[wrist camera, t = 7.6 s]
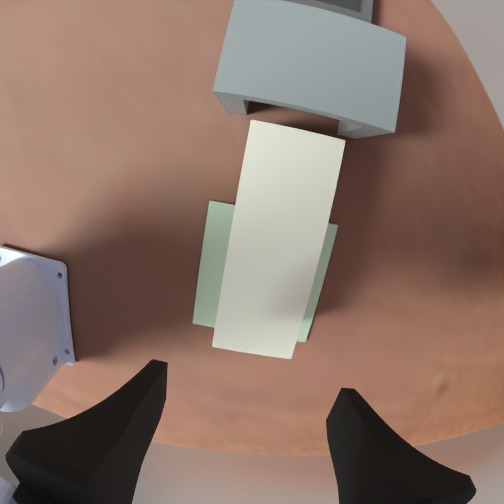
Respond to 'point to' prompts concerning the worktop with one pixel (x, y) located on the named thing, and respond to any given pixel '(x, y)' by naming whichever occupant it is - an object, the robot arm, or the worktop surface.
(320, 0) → the tray
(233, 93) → the tunnel
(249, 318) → the long ivory beam
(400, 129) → the worktop surface
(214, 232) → the pad
